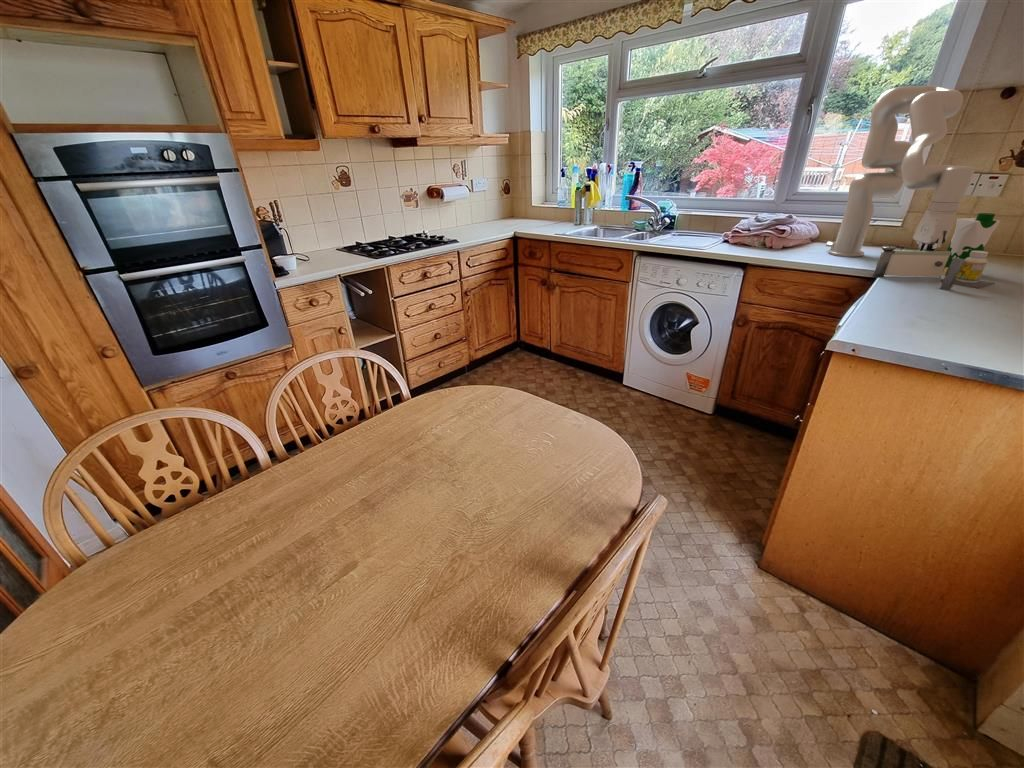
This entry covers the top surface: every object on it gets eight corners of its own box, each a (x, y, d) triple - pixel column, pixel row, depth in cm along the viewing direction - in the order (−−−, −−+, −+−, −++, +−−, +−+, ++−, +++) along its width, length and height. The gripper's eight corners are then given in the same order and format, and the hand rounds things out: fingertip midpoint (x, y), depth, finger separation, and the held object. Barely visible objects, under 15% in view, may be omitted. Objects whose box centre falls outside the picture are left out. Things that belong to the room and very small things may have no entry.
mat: (940, 281, 146) (940, 280, 146) (956, 277, 149) (956, 276, 149) (978, 288, 138) (978, 287, 138) (994, 283, 141) (995, 282, 141)
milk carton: (951, 275, 152) (978, 215, 142) (931, 269, 160) (956, 211, 150) (978, 275, 151) (1007, 214, 142) (957, 269, 159) (984, 211, 149)
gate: (887, 276, 152) (896, 251, 148) (883, 274, 154) (892, 250, 150) (942, 277, 148) (953, 252, 144) (938, 275, 150) (948, 251, 146)
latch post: (935, 288, 139) (948, 258, 135) (940, 287, 140) (953, 257, 135) (945, 290, 137) (959, 260, 132) (950, 289, 138) (964, 259, 133)
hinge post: (869, 275, 155) (879, 246, 150) (875, 274, 156) (886, 245, 151) (881, 278, 152) (891, 248, 147) (887, 276, 153) (898, 247, 148)
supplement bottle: (980, 283, 140) (995, 253, 136) (959, 282, 142) (972, 252, 138) (973, 279, 145) (986, 250, 140) (952, 278, 147) (965, 249, 142)
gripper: (916, 205, 150) (895, 258, 159) (945, 210, 137) (921, 268, 146) (940, 204, 149) (918, 258, 158) (973, 210, 136) (947, 268, 145)
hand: (920, 263), depth 152 cm, fingers closed
